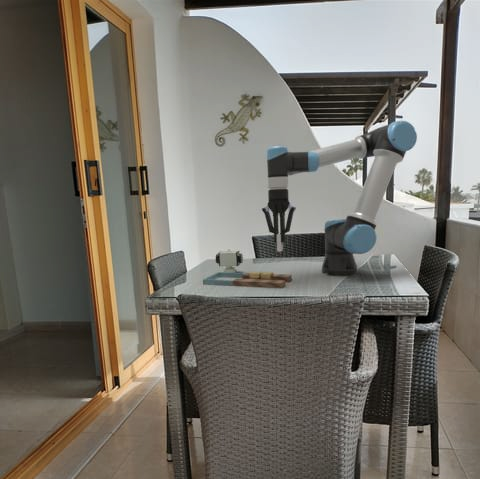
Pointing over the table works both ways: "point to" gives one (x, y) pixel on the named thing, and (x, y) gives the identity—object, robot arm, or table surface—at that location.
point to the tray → (211, 280)
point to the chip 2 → (267, 276)
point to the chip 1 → (255, 275)
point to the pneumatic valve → (229, 260)
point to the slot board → (263, 281)
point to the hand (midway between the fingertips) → (280, 250)
